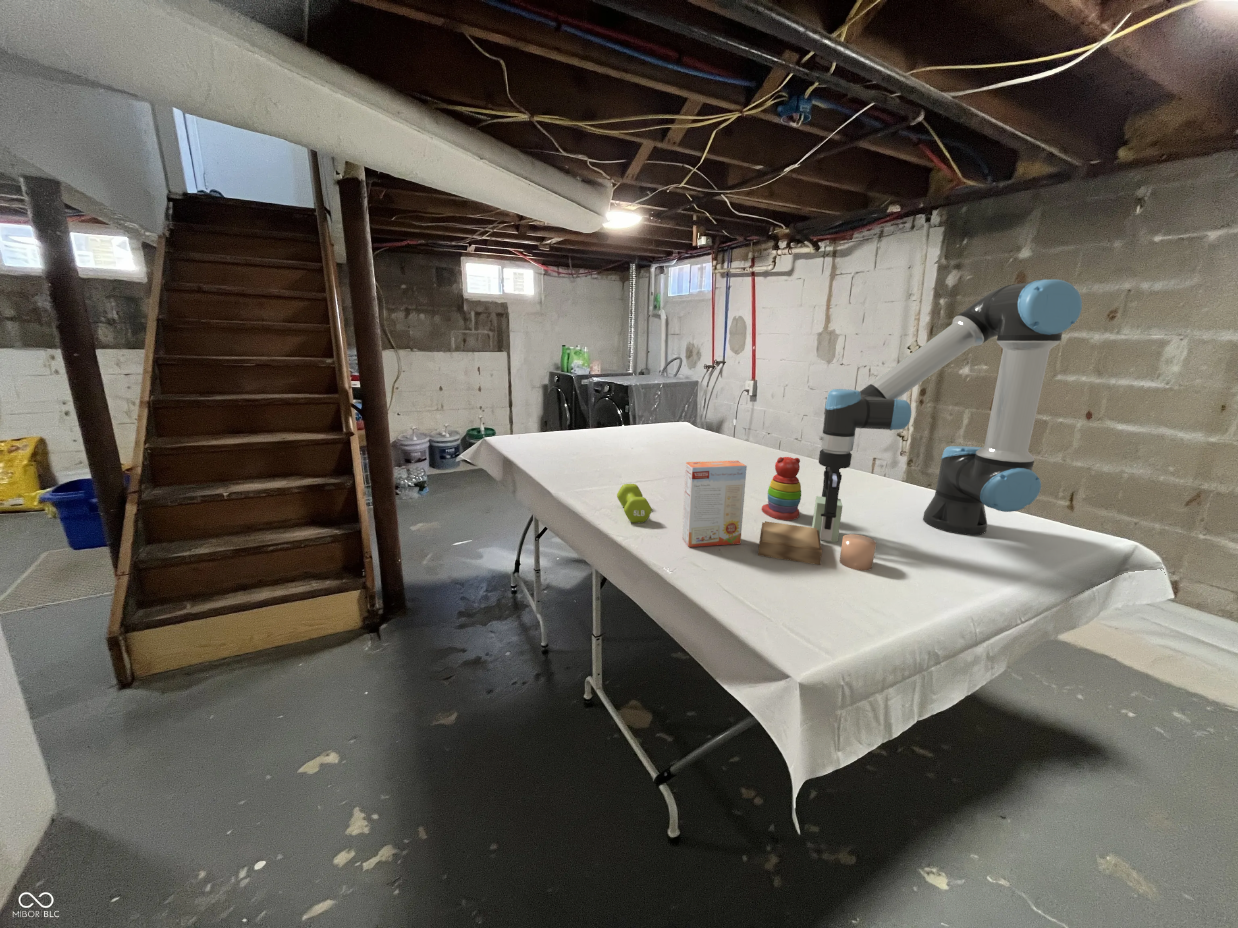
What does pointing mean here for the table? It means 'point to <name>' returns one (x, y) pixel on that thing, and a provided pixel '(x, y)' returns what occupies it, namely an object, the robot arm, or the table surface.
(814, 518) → the sage block
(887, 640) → the table surface
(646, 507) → the dumbbell
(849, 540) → the peach rounded cylinder
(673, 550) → the table surface
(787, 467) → the stacking bear
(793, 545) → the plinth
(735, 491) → the cracker box
